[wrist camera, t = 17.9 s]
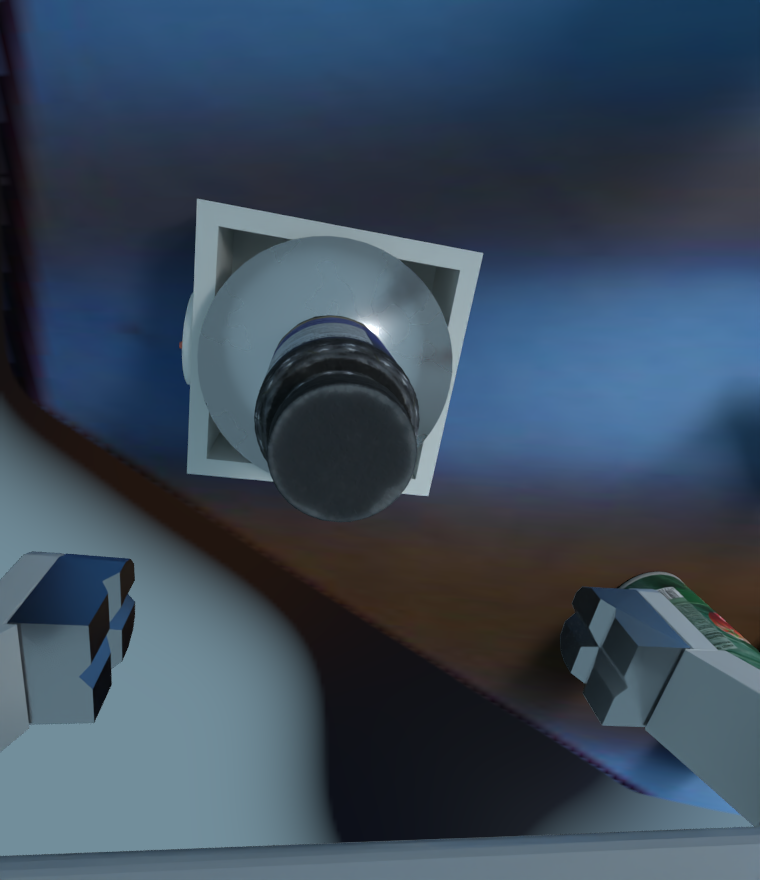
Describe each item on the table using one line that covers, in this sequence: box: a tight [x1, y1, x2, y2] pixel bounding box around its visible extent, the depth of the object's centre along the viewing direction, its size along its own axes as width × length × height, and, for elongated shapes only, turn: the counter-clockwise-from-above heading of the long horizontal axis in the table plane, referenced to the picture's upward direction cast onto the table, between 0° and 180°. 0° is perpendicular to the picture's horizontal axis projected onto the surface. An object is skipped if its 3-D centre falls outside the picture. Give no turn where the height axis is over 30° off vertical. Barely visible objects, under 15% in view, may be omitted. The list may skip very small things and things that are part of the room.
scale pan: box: [197, 236, 453, 473], centre depth 27 cm, size 13×13×4 cm
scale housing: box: [179, 199, 483, 496], centre depth 29 cm, size 14×15×6 cm
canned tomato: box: [618, 572, 760, 670], centre depth 39 cm, size 8×8×11 cm
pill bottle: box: [254, 315, 420, 522], centre depth 20 cm, size 6×6×11 cm
